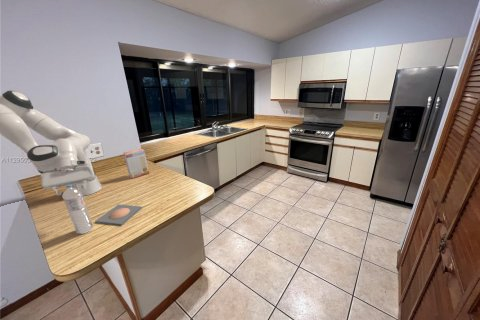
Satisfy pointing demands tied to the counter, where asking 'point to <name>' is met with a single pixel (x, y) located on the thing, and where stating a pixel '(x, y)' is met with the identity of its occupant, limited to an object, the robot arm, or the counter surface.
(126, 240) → the counter surface
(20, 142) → the robot arm
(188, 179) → the counter surface
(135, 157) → the cracker box
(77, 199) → the water bottle
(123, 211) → the spot mat
